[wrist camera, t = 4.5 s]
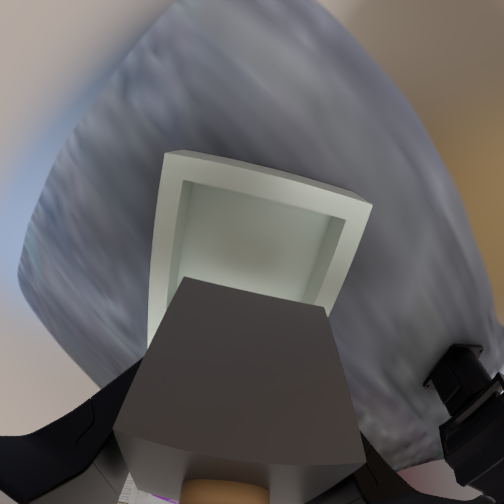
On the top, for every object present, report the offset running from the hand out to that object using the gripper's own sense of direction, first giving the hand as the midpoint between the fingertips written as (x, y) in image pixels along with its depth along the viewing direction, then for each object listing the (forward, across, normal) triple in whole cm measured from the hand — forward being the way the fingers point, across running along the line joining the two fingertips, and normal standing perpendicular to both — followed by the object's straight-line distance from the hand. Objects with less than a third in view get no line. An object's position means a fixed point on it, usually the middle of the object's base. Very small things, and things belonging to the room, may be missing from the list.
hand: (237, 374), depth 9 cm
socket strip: (+10, 0, +6) cm, 12 cm away
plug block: (+2, 0, 0) cm, 2 cm away
